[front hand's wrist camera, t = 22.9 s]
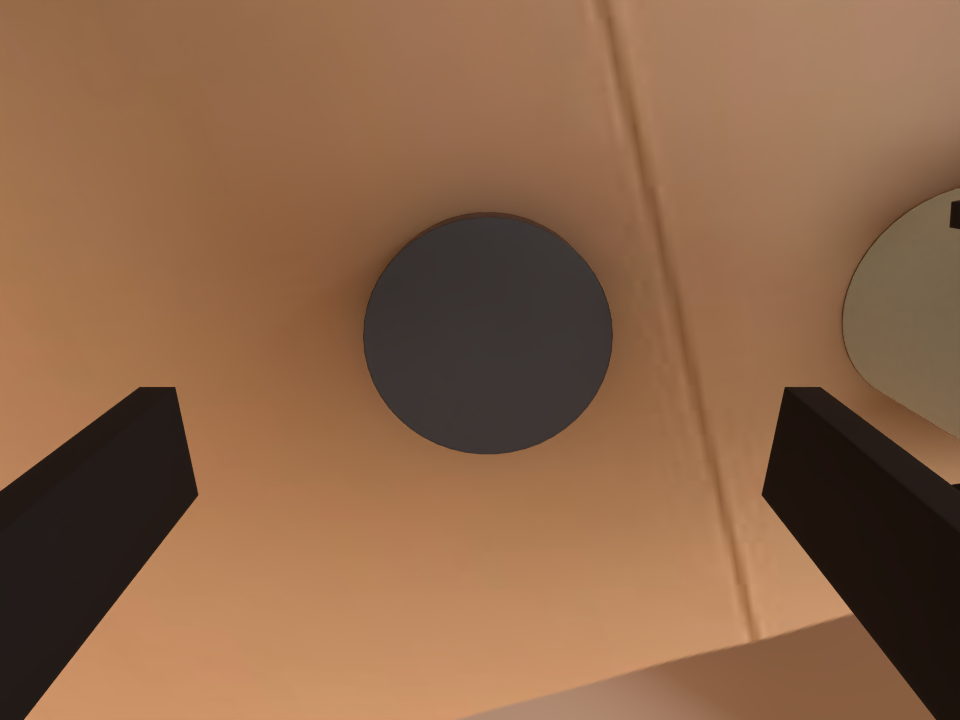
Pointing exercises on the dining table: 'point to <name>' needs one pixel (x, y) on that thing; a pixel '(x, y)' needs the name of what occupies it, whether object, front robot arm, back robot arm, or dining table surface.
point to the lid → (487, 334)
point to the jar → (911, 313)
